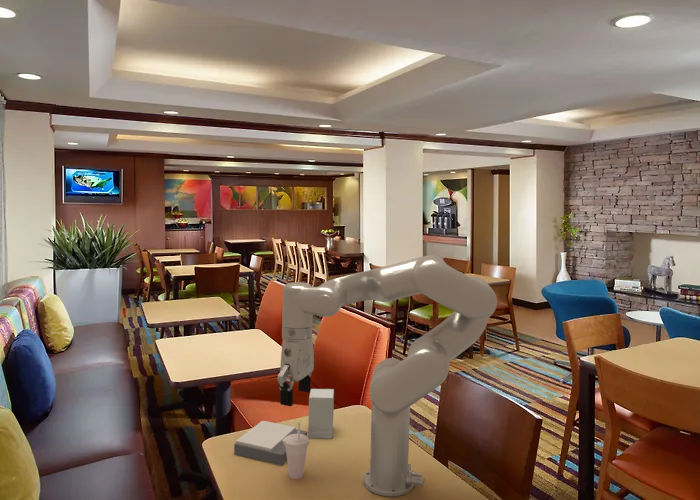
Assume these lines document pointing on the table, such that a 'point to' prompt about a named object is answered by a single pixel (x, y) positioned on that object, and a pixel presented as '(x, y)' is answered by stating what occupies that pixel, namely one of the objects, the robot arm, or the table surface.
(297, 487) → the table surface
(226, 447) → the table surface
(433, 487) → the table surface
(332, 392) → the supplement box
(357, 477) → the table surface
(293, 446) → the smoothie
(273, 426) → the scale
